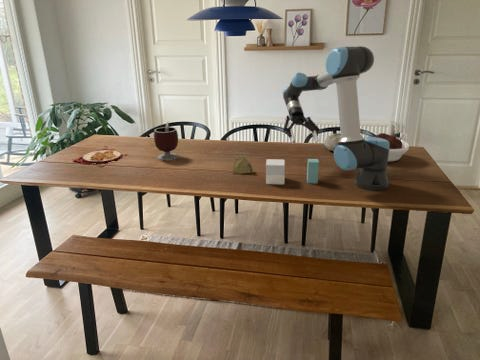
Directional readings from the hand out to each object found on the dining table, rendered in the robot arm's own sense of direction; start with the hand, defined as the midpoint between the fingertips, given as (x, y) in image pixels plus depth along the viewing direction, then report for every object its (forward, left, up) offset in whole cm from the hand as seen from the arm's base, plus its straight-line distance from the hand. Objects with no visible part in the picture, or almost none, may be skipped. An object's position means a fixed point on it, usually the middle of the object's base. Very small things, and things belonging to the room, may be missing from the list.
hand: (305, 141), depth 196 cm
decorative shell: (+12, -46, -17) cm, 51 cm away
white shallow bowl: (-16, -51, -17) cm, 56 cm away
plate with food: (+98, +70, -18) cm, 121 cm away
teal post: (-11, +7, -17) cm, 21 cm away
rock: (+22, +24, -17) cm, 37 cm away
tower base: (+2, +20, -17) cm, 26 cm away
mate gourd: (+73, +40, -17) cm, 85 cm away
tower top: (+2, +20, -12) cm, 23 cm away
